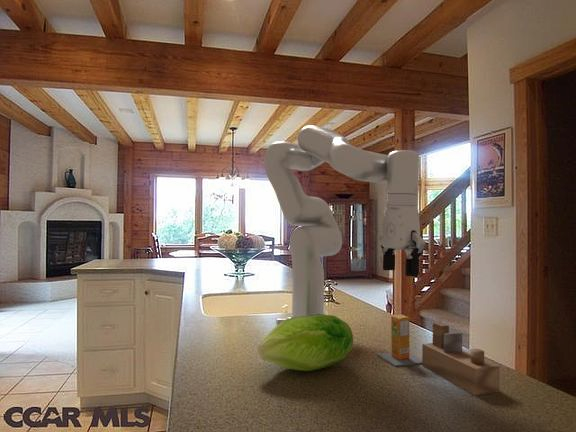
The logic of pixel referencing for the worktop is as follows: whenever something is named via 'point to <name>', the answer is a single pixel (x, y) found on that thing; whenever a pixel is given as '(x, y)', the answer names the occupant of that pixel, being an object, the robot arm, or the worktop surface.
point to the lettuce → (307, 342)
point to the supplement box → (400, 337)
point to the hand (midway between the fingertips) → (399, 272)
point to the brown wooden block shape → (459, 362)
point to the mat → (398, 363)
